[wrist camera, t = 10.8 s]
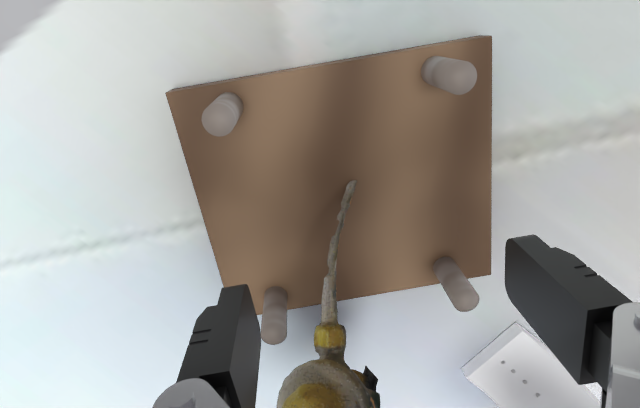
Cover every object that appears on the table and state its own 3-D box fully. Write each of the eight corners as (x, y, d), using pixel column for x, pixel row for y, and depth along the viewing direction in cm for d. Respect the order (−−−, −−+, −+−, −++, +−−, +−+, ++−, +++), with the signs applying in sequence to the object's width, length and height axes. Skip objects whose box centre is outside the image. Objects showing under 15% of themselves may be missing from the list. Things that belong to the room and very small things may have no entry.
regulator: (284, 158, 18) (231, 583, 14) (374, 151, 16) (344, 629, 12) (343, 206, 24) (319, 502, 20) (411, 205, 23) (400, 526, 19)
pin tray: (479, 35, 19) (529, 37, 15) (481, 262, 23) (519, 309, 19) (173, 89, 19) (142, 104, 15) (236, 305, 23) (225, 359, 20)
